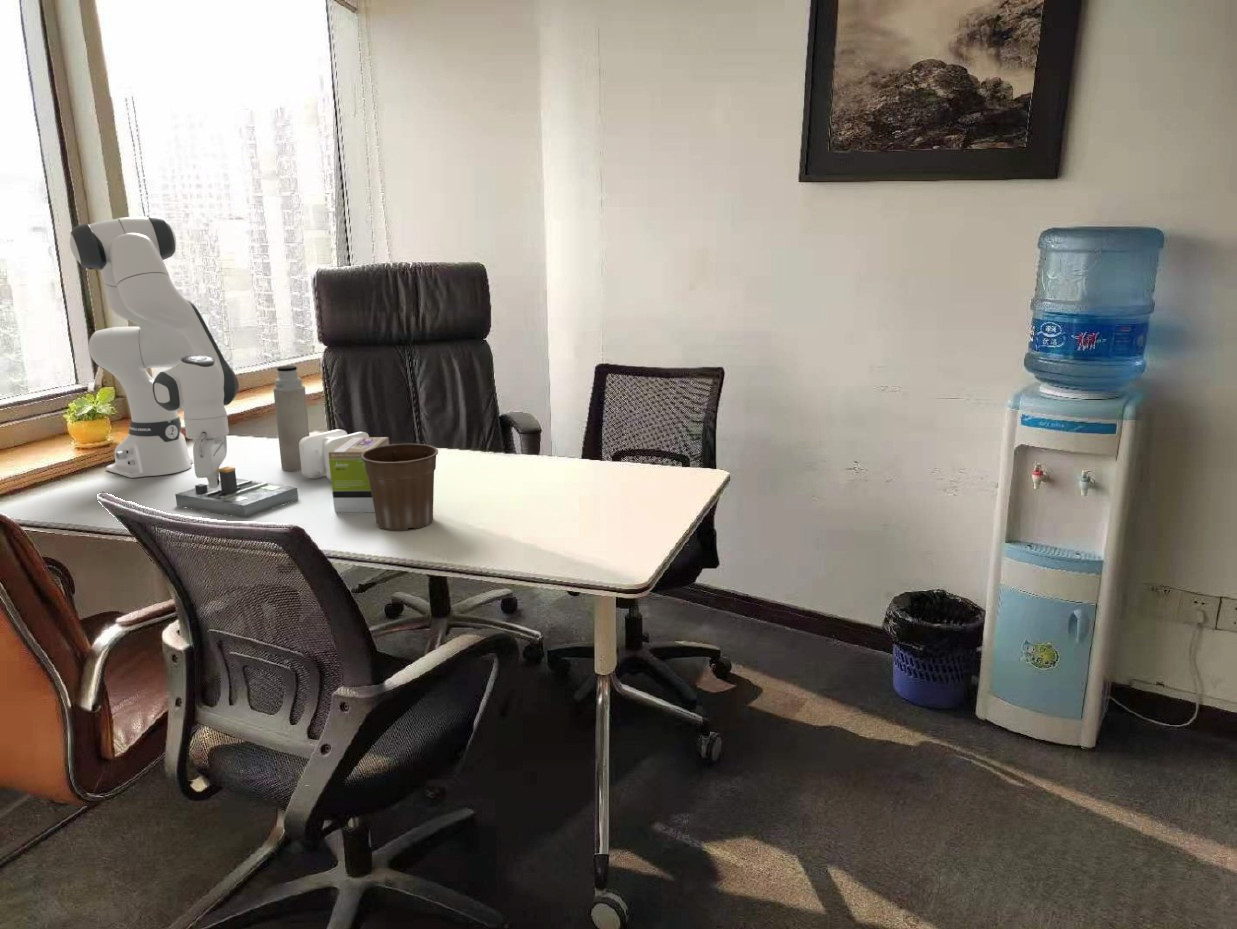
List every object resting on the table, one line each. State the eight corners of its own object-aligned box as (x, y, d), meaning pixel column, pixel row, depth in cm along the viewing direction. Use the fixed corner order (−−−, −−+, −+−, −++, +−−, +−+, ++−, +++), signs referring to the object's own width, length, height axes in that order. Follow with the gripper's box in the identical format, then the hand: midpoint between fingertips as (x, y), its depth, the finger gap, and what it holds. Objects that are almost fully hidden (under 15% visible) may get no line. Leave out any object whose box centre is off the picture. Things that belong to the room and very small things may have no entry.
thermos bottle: (300, 462, 241) (290, 363, 234) (318, 466, 237) (309, 365, 230) (275, 468, 234) (264, 367, 227) (294, 472, 230) (283, 369, 223)
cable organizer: (329, 486, 217) (325, 442, 214) (300, 480, 222) (296, 437, 219) (372, 473, 230) (369, 430, 227) (345, 468, 235) (341, 426, 232)
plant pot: (425, 536, 179) (420, 462, 175) (353, 532, 182) (347, 459, 178) (452, 513, 195) (449, 444, 191) (386, 510, 198) (381, 442, 194)
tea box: (354, 494, 210) (349, 435, 206) (395, 494, 210) (390, 436, 206) (332, 513, 196) (327, 450, 192) (376, 513, 195) (371, 450, 192)
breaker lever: (218, 492, 200) (215, 469, 198) (232, 488, 203) (229, 465, 202) (227, 494, 198) (224, 471, 197) (240, 489, 202) (238, 467, 201)
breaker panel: (176, 506, 201) (174, 487, 200) (232, 489, 215) (230, 471, 214) (245, 518, 192) (243, 498, 191) (298, 499, 206) (296, 480, 205)
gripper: (214, 437, 185) (222, 498, 188) (228, 418, 204) (235, 474, 207) (182, 438, 183) (191, 500, 186) (199, 420, 202) (207, 476, 205)
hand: (214, 486), depth 197 cm, fingers closed
